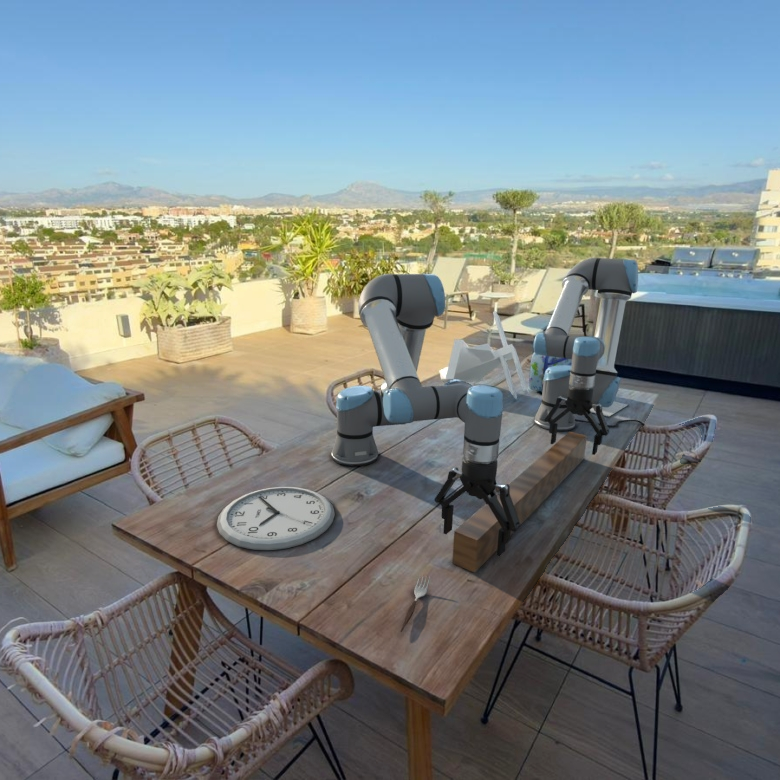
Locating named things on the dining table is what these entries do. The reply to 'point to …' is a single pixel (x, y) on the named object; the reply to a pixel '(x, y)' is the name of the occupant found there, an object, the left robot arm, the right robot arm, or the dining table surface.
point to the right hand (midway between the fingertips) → (573, 447)
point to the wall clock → (275, 518)
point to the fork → (418, 593)
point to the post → (517, 501)
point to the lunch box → (543, 369)
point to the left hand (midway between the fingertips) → (473, 542)
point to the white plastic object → (482, 361)
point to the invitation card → (611, 409)
